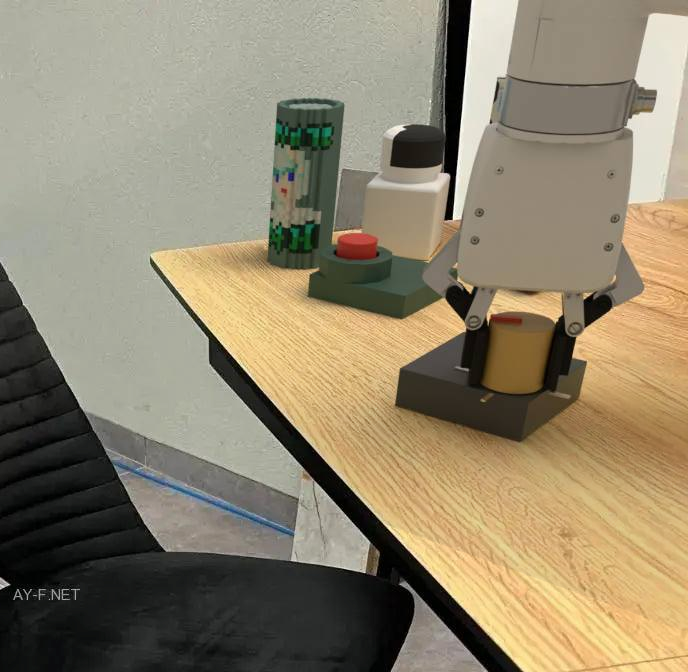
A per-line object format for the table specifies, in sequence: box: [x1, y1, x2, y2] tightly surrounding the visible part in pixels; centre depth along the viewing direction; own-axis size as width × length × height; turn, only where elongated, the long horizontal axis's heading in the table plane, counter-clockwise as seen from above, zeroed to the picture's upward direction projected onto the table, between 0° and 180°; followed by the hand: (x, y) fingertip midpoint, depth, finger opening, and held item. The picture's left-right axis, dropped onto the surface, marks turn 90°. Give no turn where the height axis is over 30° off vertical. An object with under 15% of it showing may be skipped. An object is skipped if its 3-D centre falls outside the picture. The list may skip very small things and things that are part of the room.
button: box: [336, 232, 378, 260], centre depth 105 cm, size 4×4×2 cm
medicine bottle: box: [361, 123, 451, 262], centre depth 116 cm, size 7×7×12 cm
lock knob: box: [480, 310, 556, 394], centre depth 80 cm, size 4×4×5 cm
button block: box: [307, 243, 459, 320], centre depth 107 cm, size 10×10×4 cm
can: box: [267, 97, 345, 271], centre depth 113 cm, size 6×6×15 cm
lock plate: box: [394, 331, 588, 443], centre depth 84 cm, size 12×12×3 cm
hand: (511, 378), depth 82 cm, fingers closed on lock knob, 4 cm apart
